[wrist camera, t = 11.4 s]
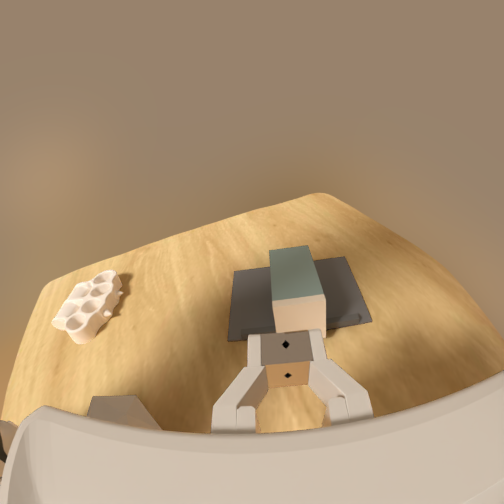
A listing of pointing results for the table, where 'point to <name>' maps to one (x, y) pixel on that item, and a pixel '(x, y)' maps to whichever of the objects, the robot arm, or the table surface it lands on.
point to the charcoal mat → (260, 299)
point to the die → (121, 411)
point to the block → (296, 291)
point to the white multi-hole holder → (89, 306)
